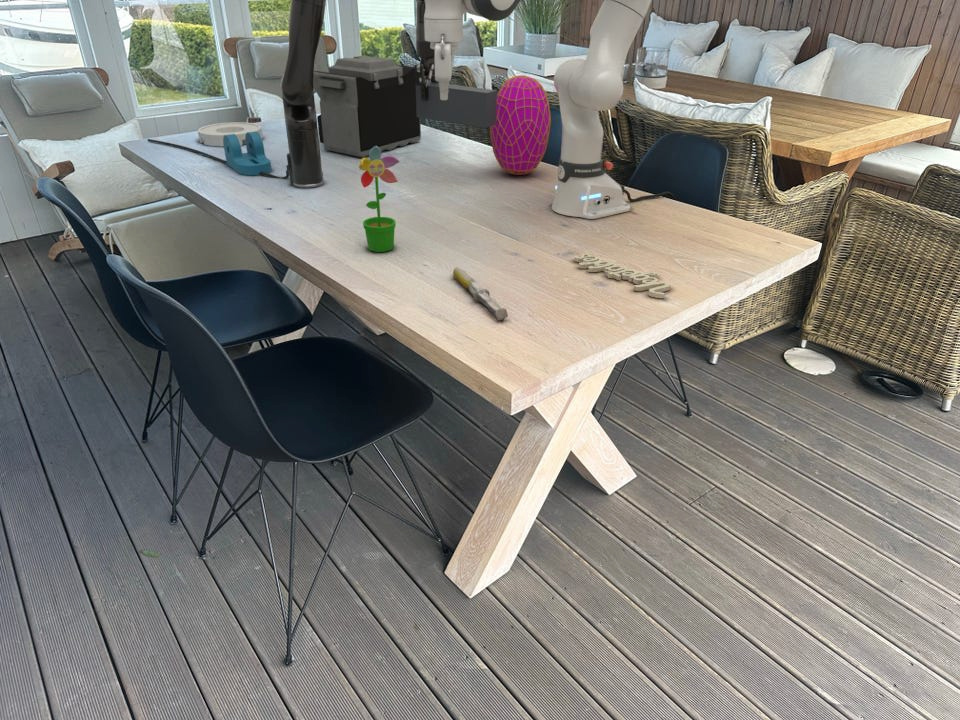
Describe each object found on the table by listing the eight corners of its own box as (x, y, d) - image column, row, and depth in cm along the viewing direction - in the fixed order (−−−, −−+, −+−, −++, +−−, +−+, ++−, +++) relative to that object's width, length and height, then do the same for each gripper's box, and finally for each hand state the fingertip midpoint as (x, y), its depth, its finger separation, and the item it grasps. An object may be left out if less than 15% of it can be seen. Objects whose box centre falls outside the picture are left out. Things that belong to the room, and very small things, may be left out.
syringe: (449, 274, 155) (449, 263, 153) (465, 272, 156) (464, 260, 154) (490, 323, 135) (491, 310, 133) (508, 319, 136) (508, 307, 134)
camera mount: (227, 164, 233) (221, 132, 227) (257, 160, 238) (252, 129, 233) (244, 176, 220) (239, 143, 215) (276, 172, 225) (271, 139, 220)
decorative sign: (686, 282, 150) (660, 295, 144) (686, 286, 150) (659, 300, 144) (592, 249, 166) (565, 259, 160) (592, 253, 167) (565, 263, 161)
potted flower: (369, 256, 164) (361, 149, 151) (358, 245, 170) (349, 142, 157) (406, 249, 167) (401, 145, 155) (394, 239, 173) (388, 138, 161)
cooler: (383, 133, 276) (378, 52, 261) (425, 141, 265) (422, 56, 250) (314, 150, 251) (304, 61, 235) (358, 160, 240) (350, 67, 224)
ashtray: (212, 132, 275) (211, 121, 273) (270, 133, 274) (268, 122, 272) (190, 145, 255) (187, 134, 253) (251, 147, 254) (250, 135, 252)
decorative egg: (522, 185, 216) (526, 83, 200) (477, 173, 227) (478, 76, 212) (559, 173, 228) (566, 76, 213) (514, 162, 239) (517, 70, 224)
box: (416, 117, 214) (415, 83, 209) (427, 114, 218) (426, 81, 213) (486, 127, 203) (487, 92, 198) (496, 124, 207) (497, 90, 202)
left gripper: (428, 42, 197) (429, 103, 205) (450, 37, 208) (451, 96, 216) (405, 40, 199) (407, 101, 208) (429, 36, 211) (430, 94, 219)
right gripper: (456, 37, 149) (457, 104, 156) (458, 28, 166) (458, 89, 173) (427, 37, 149) (429, 104, 156) (432, 28, 166) (433, 89, 173)
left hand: (429, 98), depth 212 cm, fingers closed on box, 6 cm apart
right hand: (444, 96), depth 165 cm, fingers open, 8 cm apart
